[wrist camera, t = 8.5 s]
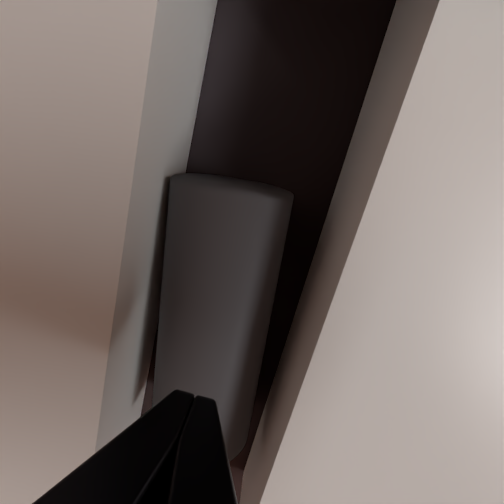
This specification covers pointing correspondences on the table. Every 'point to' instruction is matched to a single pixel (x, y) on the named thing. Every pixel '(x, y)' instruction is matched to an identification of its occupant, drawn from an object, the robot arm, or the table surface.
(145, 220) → the white block with cutout
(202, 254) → the rod
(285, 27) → the table surface
